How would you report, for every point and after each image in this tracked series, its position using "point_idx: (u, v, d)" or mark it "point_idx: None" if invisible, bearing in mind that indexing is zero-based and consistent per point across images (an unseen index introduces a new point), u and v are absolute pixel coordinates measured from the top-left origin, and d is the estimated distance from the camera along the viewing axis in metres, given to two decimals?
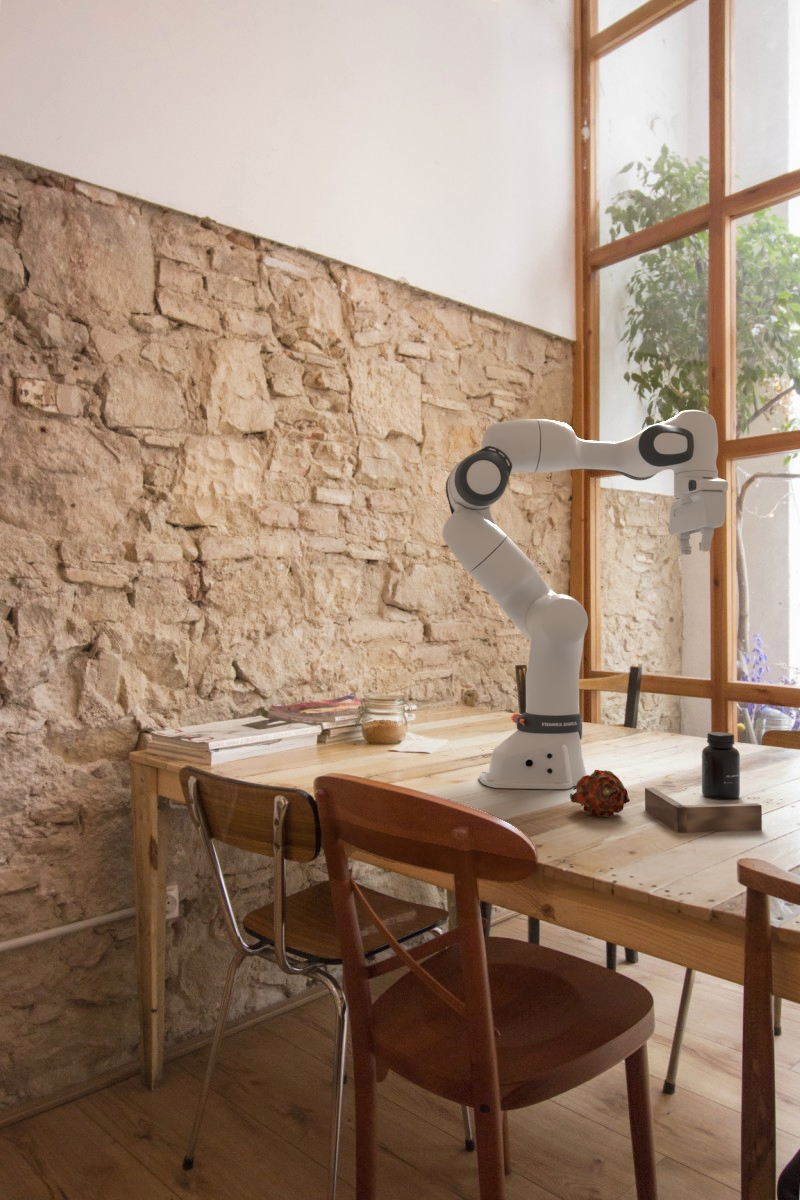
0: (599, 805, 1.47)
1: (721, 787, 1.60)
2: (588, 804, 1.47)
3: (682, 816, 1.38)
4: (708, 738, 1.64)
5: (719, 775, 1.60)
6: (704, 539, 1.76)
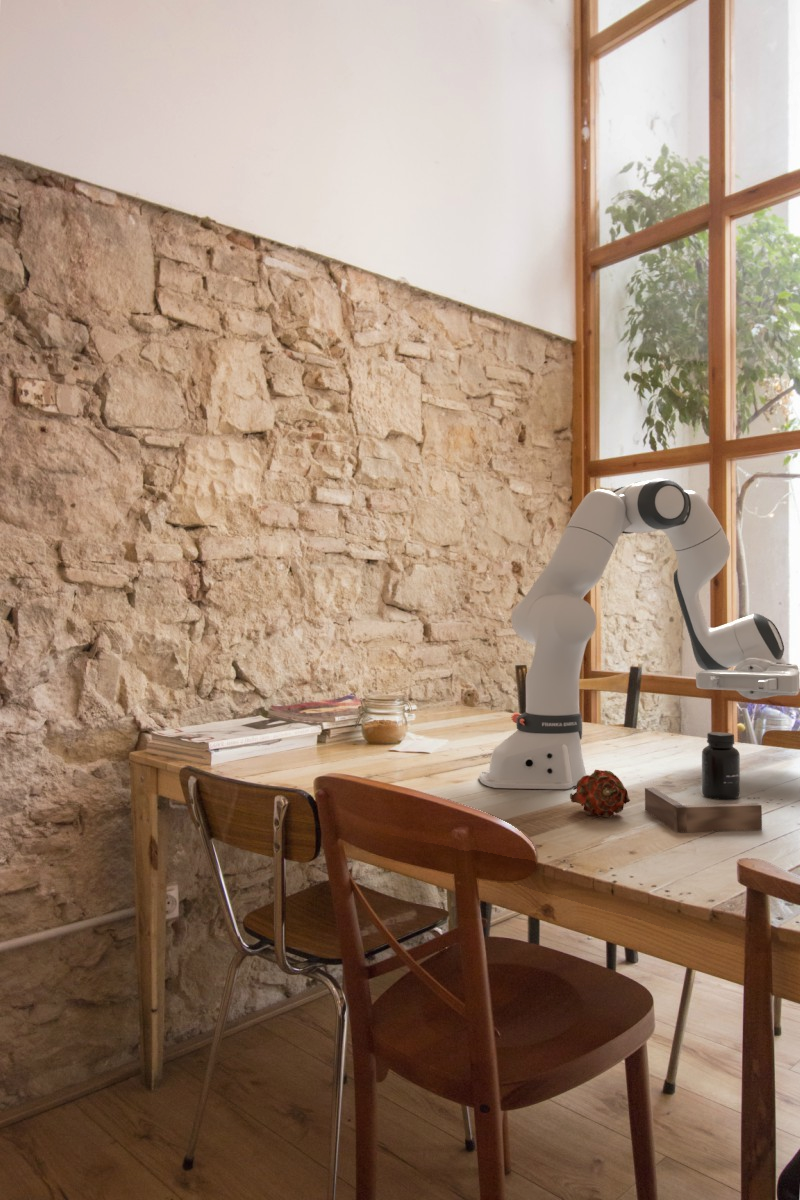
0: (599, 805, 1.47)
1: (721, 787, 1.60)
2: (588, 804, 1.47)
3: (682, 816, 1.38)
4: (708, 738, 1.64)
5: (719, 775, 1.60)
6: (770, 681, 1.72)
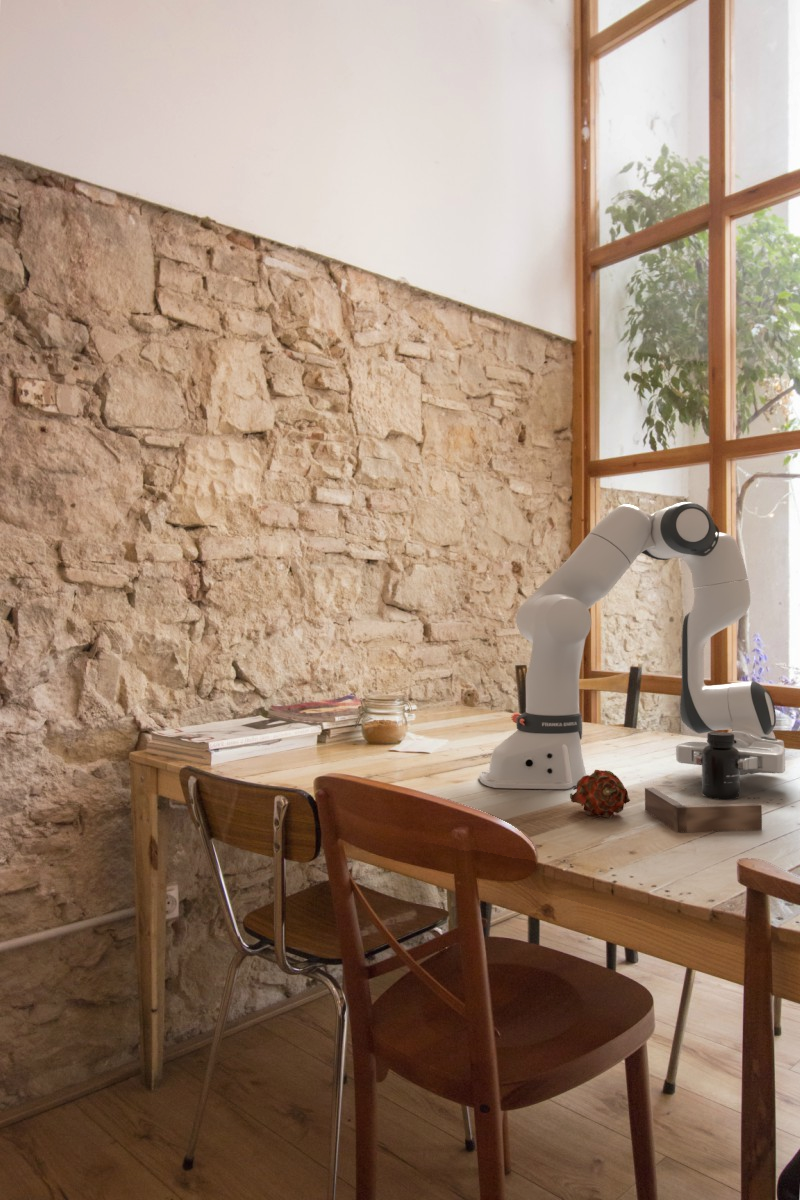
0: (599, 805, 1.47)
1: (721, 787, 1.60)
2: (588, 804, 1.47)
3: (682, 816, 1.38)
4: (708, 738, 1.64)
5: (719, 775, 1.60)
6: (750, 760, 1.62)
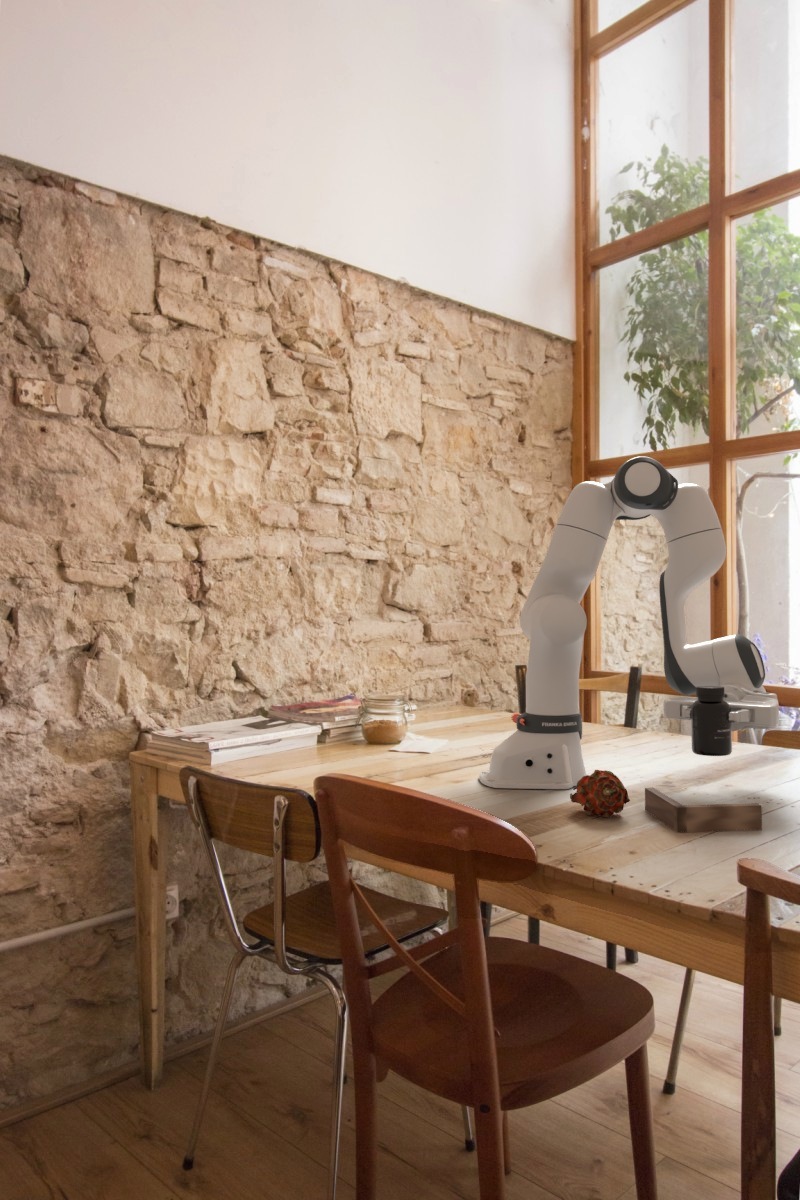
0: (599, 805, 1.47)
1: (712, 743, 1.51)
2: (588, 804, 1.47)
3: (682, 816, 1.38)
4: (697, 692, 1.54)
5: (710, 730, 1.51)
6: (742, 713, 1.52)
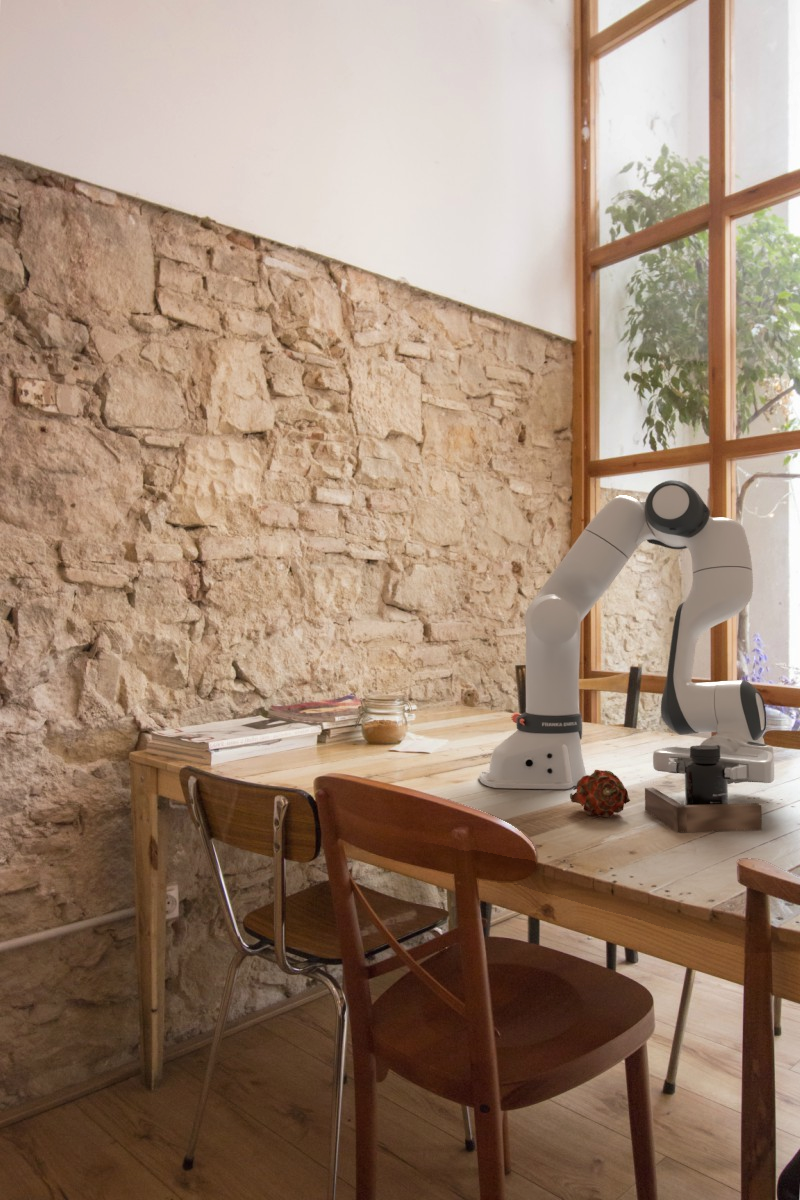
0: (599, 805, 1.47)
1: None
2: (588, 804, 1.47)
3: (682, 816, 1.38)
4: (691, 752, 1.46)
5: (705, 794, 1.42)
6: (739, 769, 1.44)
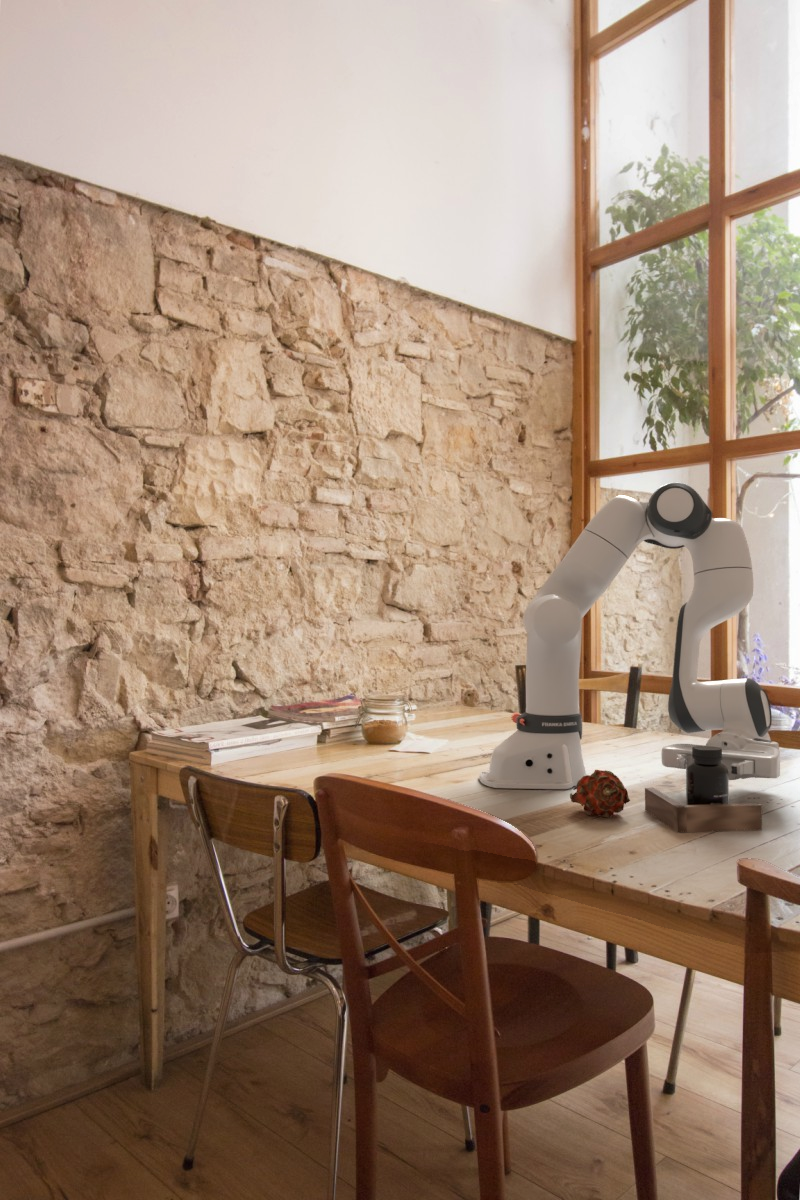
0: (599, 805, 1.47)
1: None
2: (588, 804, 1.47)
3: (682, 816, 1.38)
4: (693, 753, 1.45)
5: (706, 795, 1.42)
6: (746, 764, 1.47)
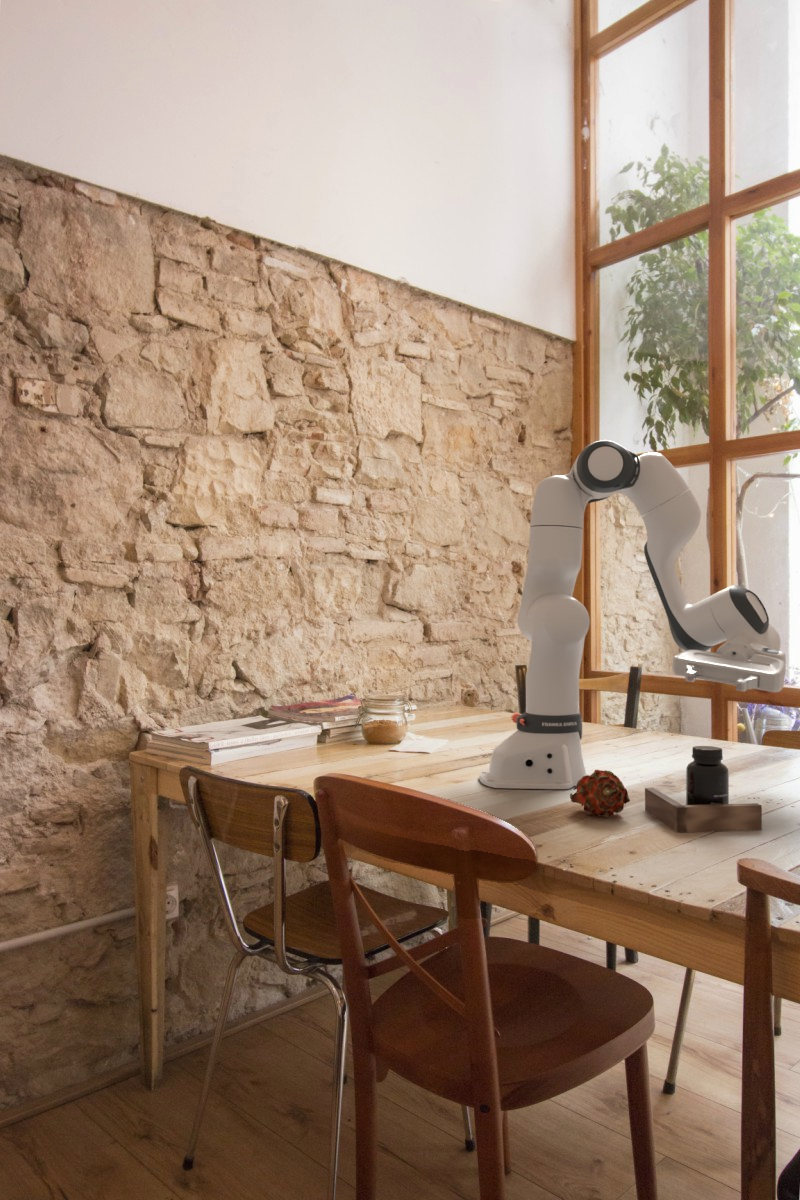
0: (599, 805, 1.47)
1: None
2: (588, 804, 1.47)
3: (682, 816, 1.38)
4: (693, 753, 1.46)
5: (706, 795, 1.42)
6: (750, 681, 1.56)
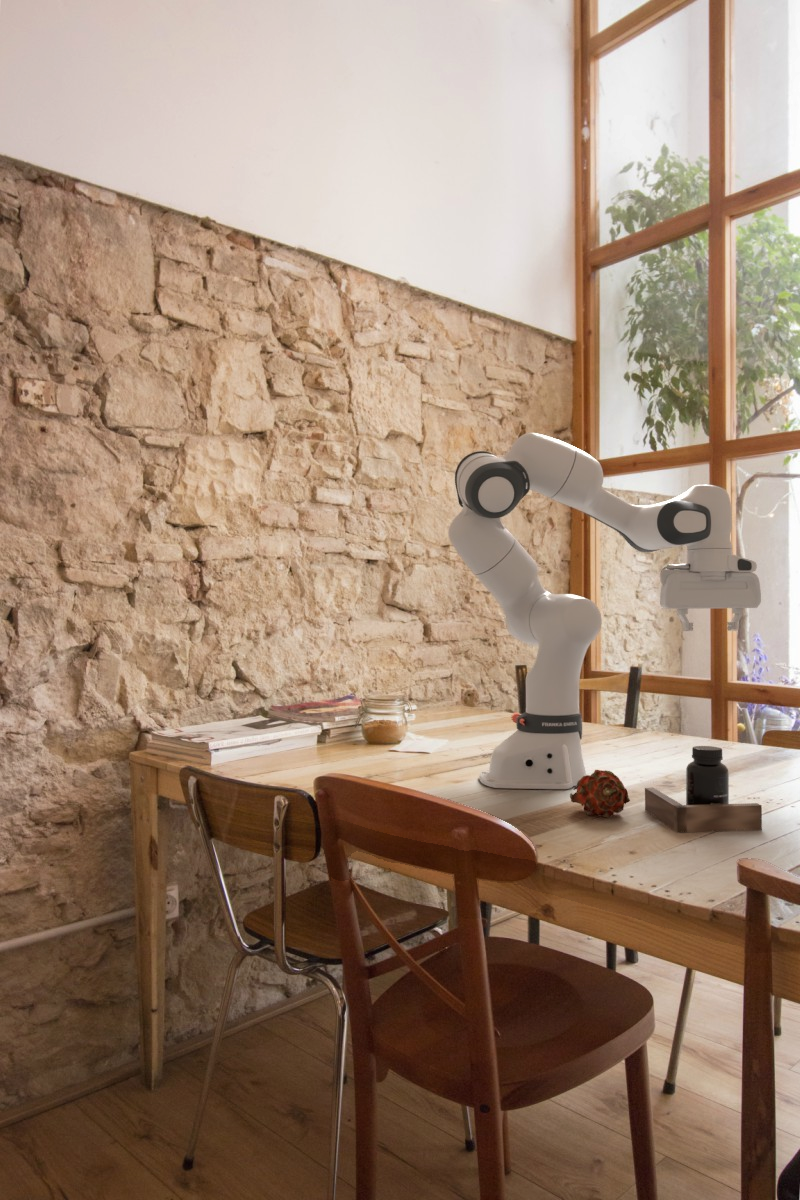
0: (599, 805, 1.47)
1: None
2: (588, 804, 1.47)
3: (682, 816, 1.38)
4: (693, 753, 1.46)
5: (706, 795, 1.42)
6: None
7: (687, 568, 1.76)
